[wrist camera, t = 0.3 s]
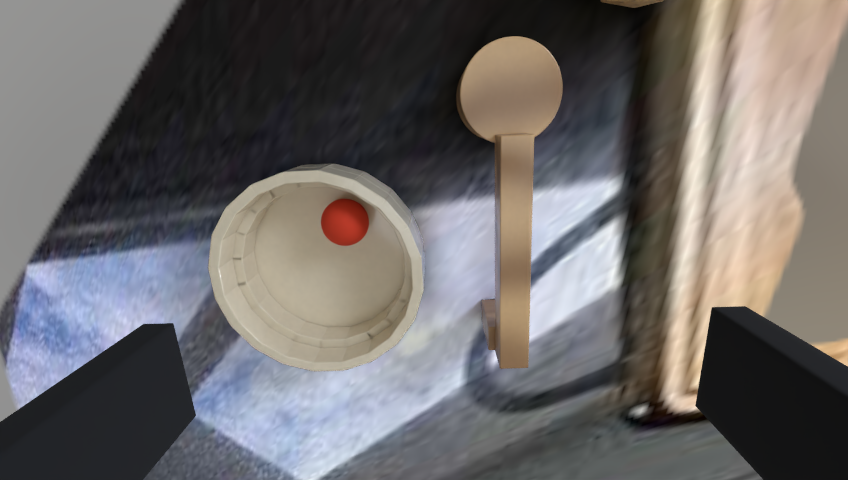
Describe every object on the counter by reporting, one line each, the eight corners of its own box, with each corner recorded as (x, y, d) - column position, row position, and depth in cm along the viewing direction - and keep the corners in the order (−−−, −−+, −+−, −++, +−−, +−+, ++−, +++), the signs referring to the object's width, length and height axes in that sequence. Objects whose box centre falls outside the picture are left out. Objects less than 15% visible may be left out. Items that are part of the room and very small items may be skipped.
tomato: (325, 195, 32) (311, 205, 28) (370, 193, 32) (362, 202, 28) (330, 239, 33) (318, 253, 29) (374, 237, 33) (367, 251, 29)
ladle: (454, 52, 29) (460, 31, 22) (543, 47, 29) (577, 24, 22) (462, 320, 35) (468, 369, 28) (535, 318, 35) (559, 367, 28)
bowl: (224, 168, 32) (187, 176, 27) (419, 158, 31) (416, 165, 26) (258, 340, 36) (231, 374, 32) (429, 335, 36) (427, 368, 31)
